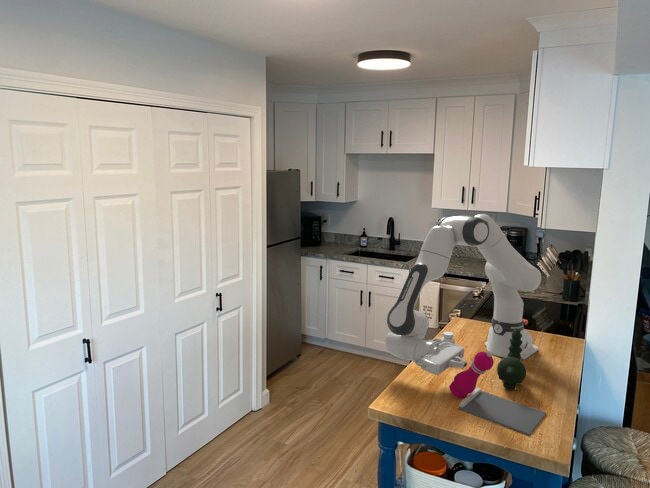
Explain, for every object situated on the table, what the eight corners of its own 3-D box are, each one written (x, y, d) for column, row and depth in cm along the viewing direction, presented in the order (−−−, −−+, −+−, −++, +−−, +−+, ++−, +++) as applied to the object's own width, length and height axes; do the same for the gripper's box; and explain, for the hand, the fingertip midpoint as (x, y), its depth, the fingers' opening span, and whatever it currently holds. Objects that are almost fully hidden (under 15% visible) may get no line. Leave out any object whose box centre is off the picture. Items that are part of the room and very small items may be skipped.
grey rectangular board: (458, 409, 152) (458, 407, 152) (478, 391, 164) (478, 389, 164) (529, 435, 138) (529, 434, 138) (545, 414, 150) (546, 412, 150)
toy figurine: (499, 371, 184) (493, 393, 161) (504, 323, 182) (498, 338, 159) (526, 376, 180) (523, 399, 157) (531, 327, 178) (528, 344, 155)
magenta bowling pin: (470, 395, 161) (504, 357, 151) (460, 403, 156) (495, 364, 146) (454, 379, 164) (486, 340, 154) (444, 387, 159) (477, 347, 149)
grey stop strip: (459, 408, 152) (459, 402, 152) (477, 392, 163) (477, 387, 163) (462, 409, 152) (463, 404, 151) (480, 393, 162) (480, 388, 162)
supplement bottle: (446, 352, 197) (447, 330, 195) (456, 356, 192) (458, 334, 190) (437, 354, 194) (438, 332, 192) (447, 359, 189) (448, 336, 187)
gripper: (413, 354, 157) (452, 366, 149) (441, 336, 173) (478, 347, 164) (412, 371, 159) (450, 385, 150) (440, 353, 174) (477, 364, 165)
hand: (465, 365), depth 157 cm, fingers closed
